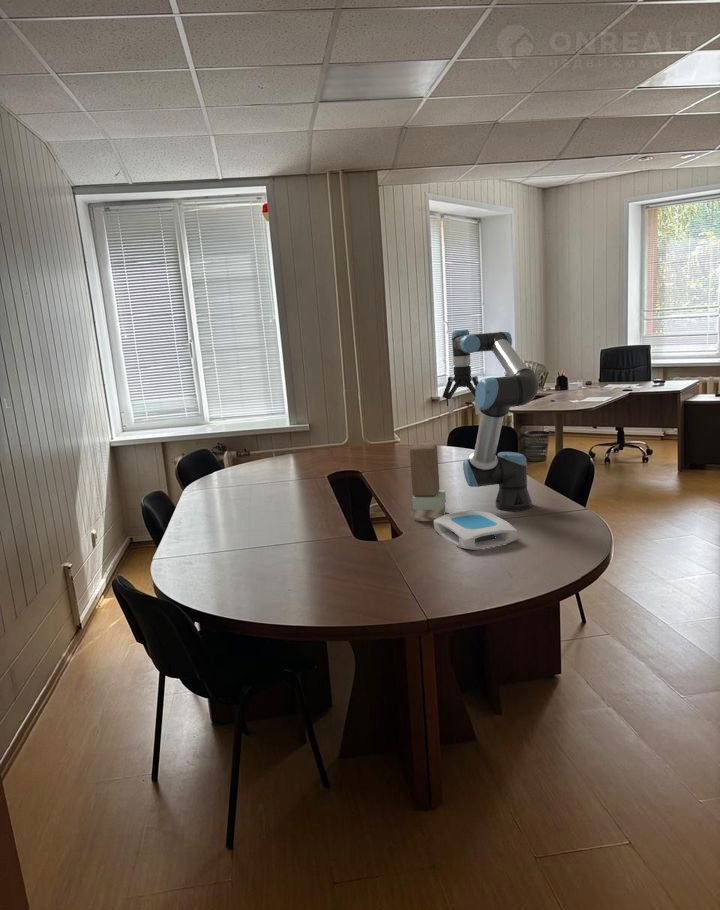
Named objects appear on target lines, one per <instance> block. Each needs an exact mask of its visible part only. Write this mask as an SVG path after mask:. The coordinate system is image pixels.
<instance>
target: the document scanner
mask: <svg viewBox="0 0 720 910" xmlns="http://www.w3.org/2000/svg"><path fill="white" fill-rule="evenodd" d="M433 528H434V530H435V531H436V532H437V533H438V534H439V536H440V535H441V536H440V537H441V538H443V537H444V540H446V539H447V540H446V541H447V542H449V541H450V542H451V543H450V542H449V543H450V544H452V543H453V544H454V546H455V545H456V546H455V547H457V546H458V547H457V548H460V549H461V548H462V549H467V550H473V551H479V550H478V549H482V550H484V549H483V548H487V547H493V546H498V545H503V544H507V545H509V544H511V543H513V542H515V541H517V540H518V530H517V528H515V527H514V526H513V525H512V524H511V523H510V522H508V521H506V520H505V519H503V518H501V517H499V516H497V515H495V514H493V513H491V512H486V511H480V510H465V511H459V512H451V513H445V515H443V516H441V517H439V518H437V519H435V520H434V521H433ZM453 532H454V533H453ZM491 534H492V535H494V536H495V537H496V538H495V537H494V536H493V537H494V538H491V539H487V540H483V541H476V539H477V538H480V537H486V536H490V535H491ZM492 535H491V536H492ZM508 543H509V544H508ZM453 544H452V545H453ZM498 547H499V546H498ZM493 548H494V547H493Z"/></svg>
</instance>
